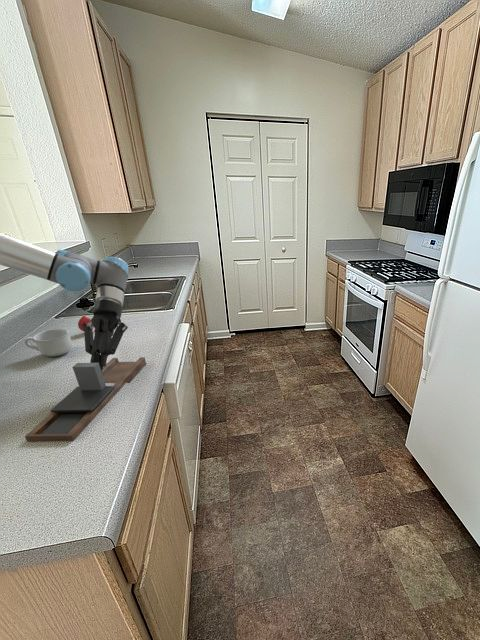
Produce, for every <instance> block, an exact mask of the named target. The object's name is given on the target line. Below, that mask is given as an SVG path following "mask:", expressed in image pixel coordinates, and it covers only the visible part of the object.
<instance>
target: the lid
mask: <svg viewBox="0 0 480 640" xmlns="http://www.w3.org/2000/svg"><path fill="white" fill-rule="evenodd" d="M72 370H73V373H74V376H75V378H76V381H77V384H78V385H77V386H76V387H75V388H74V389H73V390H72V391H70V392H69V393H68V394H67V395H66V396H65V397H64V398H63V399H61V401H59V402H58V403H57V404H56V405H55V406H53V407H52V408H51V409H50V413H52V412H92V411H93V410H94V409H95V408H96V407H97V406H98V405H99V404H100V403H101V401H102V400H103V399H104V398H105V397H106V396H107V395H108V394H109V393H110V392H111V391H112V390H113V389H114V386H113V385H107V383H105V381H104V378H103V375H102V371H101V368H100V365H99V363H90V362H77V363H75V364H74V365H73V366H72Z"/></svg>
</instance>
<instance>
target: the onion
mask: <svg viewBox="0 0 480 640" xmlns="http://www.w3.org/2000/svg"><path fill="white" fill-rule="evenodd" d="M91 319H92V318H89V317H87V316H86V314H84V315H82V317H80V318H79V320H78V321H77V327H78V329H79V330H80V331H81V332H84V329H83V327H82V324H83V323H86V324H87V323H89V322H91ZM93 329H95V328H94V326H93Z"/></svg>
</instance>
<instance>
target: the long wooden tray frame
mask: <svg viewBox="0 0 480 640" xmlns="http://www.w3.org/2000/svg"><path fill="white" fill-rule="evenodd" d="M146 365H147V362H146V357H145V356H144V357H143V356H141V357H139V358H138V359H137V360H136V361H119V358H118V357H112V358H111V359H110V360H108V362H106V366H103V369H102V375H103V378H104V381H105V384H113V385H112V386H114V389H113V390H112V391H111V392H110V393H109V394H108V395H107V396H106V397H105V398H104V399H103V400H102V401H101V403H100V404H99V405H98V406H97V407H96V408H95V409H94V410H93V411H92V412H87V413H86V414H85V415H84V416H83V417H82V419H81V420H80V421H79V422H78V423H77V424H76V425H75V426H74V427H73V428H72V429H71V430H70V431H69V432H68V433H67V434H41V433H43V432H44V431H45V430H46V429H47V428H48V427H49V426H50V425H51V424H52V423H53V422H54V421H55V420H56V419H57V418H59V417H60V416H61V415H62V414H63V413H64V412H50V413H49V414H48V415H47V416H46V417H45V418H44V419H42V420H41V421H40V422H39V423H38V424H37V425H35V427H33V428H32V429H31V430H30V431H29V432H28V433H27V434H26V435H24V438H25V441H26V442H29V443H30V442H32V443H33V442H36V443H37V442H74V441H75V440H76V439H77V438H78V437H79V436H80V435H81V433H82V432H84V430H85V429H86V428H87V427H88V426H89V424H90V423H91V422H92V421H94V419H95V418H96V417H97V416H98V415H99V414H100V413H101V411H102V410H103V409H104V408H105V407H106V406H107V405H108V403H110V401H111V400H112V399H113V398H114V397H115V396H116V395H117V394H118V393H119V392H120V391H121V389H122V388H123V387H124V386H125V385H126V384H130V383H131V382H132V380H133V379H134V378H136V376H138V374H139V373H140V372H141V370H142V369H144V367H145V366H146Z"/></svg>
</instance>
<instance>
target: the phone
mask: <svg viewBox="0 0 480 640" xmlns="http://www.w3.org/2000/svg"><path fill="white" fill-rule="evenodd" d="M86 413H87V412H64V413H63V414H62V415H61V416H60V417H59V418H57V419H56V420H55V421H54V422H53V423H52V424H51V425H50V426H49V427H48V428H47V429H46V430H45V431H44V432H43V433H41V434H67V433H68V432H69V431H70V430H71V429H72V428H73V427H74V426H75V425H76V424H77V423H78V422H79V421H80V420H81V419H82V417H83V416H84V415H85V414H86Z"/></svg>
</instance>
